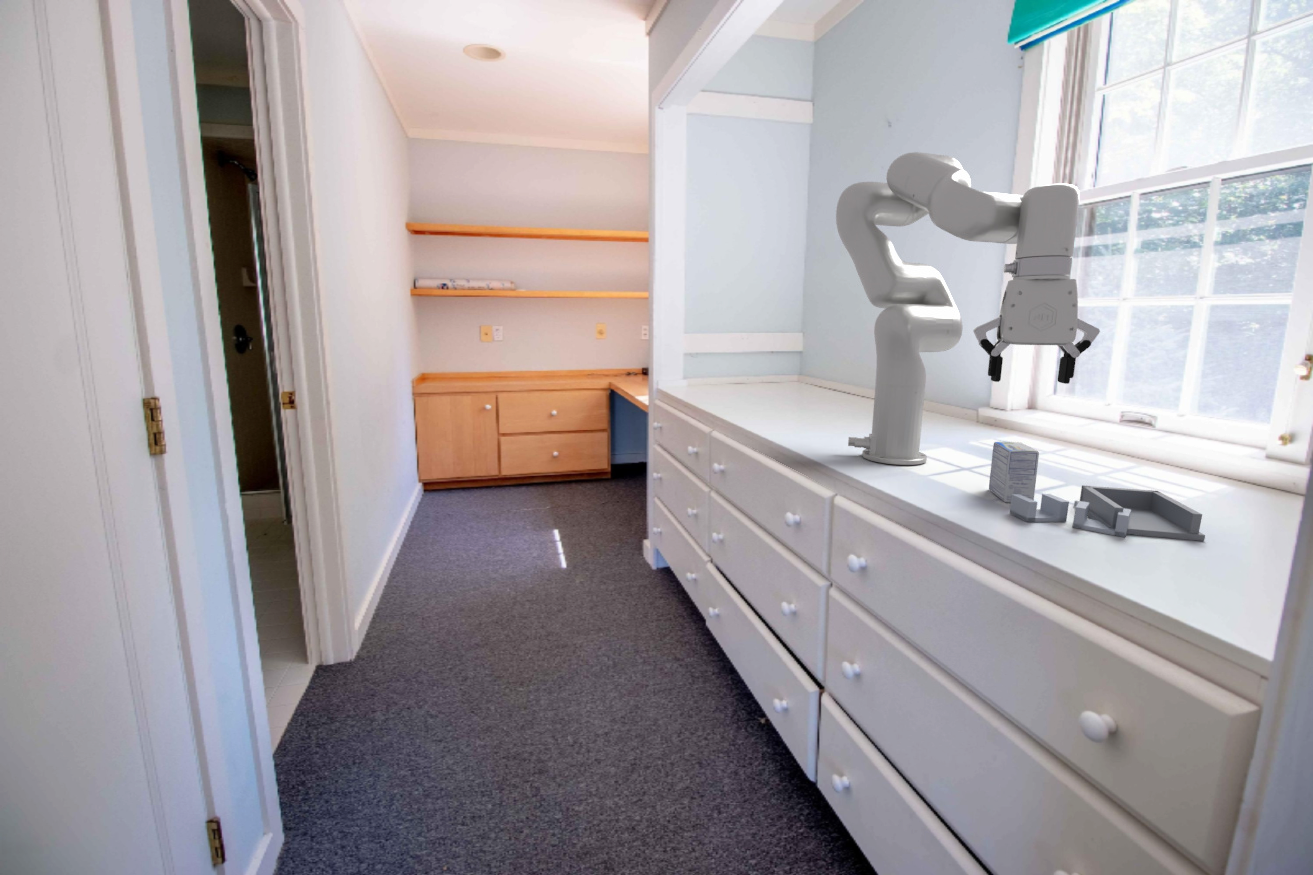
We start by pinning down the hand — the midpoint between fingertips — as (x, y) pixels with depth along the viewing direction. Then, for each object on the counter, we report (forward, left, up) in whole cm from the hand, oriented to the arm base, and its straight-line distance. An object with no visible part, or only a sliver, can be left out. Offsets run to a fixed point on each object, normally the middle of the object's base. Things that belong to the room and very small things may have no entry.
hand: (1028, 381), depth 98 cm
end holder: (+13, -9, -19) cm, 25 cm away
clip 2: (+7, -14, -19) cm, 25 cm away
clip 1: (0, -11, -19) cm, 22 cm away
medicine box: (-1, 0, -19) cm, 19 cm away
